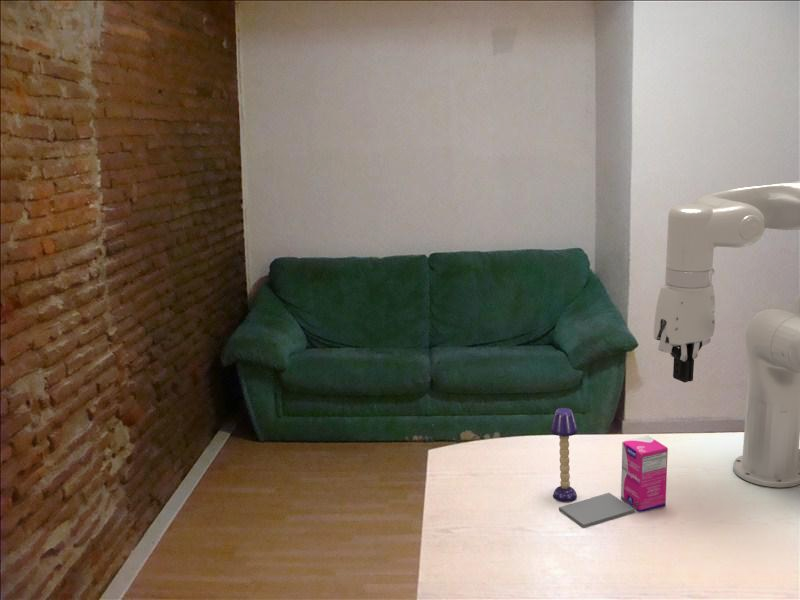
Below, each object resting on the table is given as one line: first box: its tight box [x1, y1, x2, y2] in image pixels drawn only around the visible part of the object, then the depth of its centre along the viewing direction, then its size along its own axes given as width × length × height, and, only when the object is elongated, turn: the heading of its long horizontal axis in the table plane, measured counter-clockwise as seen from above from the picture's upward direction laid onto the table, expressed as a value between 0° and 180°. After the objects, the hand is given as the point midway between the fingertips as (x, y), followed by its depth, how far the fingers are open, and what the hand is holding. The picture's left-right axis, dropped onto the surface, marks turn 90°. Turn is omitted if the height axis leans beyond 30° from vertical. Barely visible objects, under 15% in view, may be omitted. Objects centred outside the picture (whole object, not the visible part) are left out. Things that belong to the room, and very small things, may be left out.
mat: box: [558, 492, 636, 529], centre depth 153 cm, size 11×7×1 cm, turn 115°
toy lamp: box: [550, 407, 578, 503], centre depth 156 cm, size 5×5×17 cm
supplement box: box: [620, 435, 669, 513], centre depth 154 cm, size 6×6×12 cm
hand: (682, 379), depth 153 cm, fingers closed
